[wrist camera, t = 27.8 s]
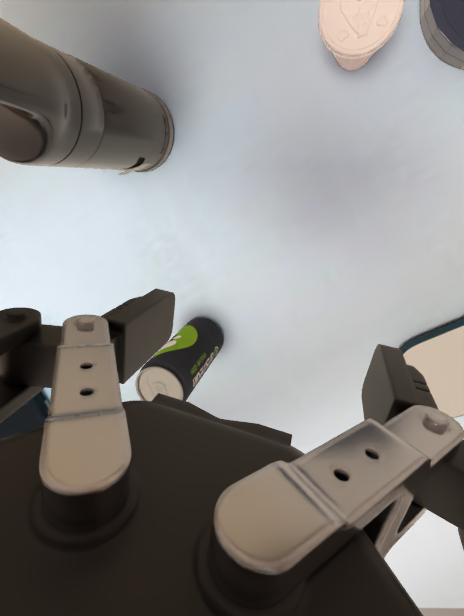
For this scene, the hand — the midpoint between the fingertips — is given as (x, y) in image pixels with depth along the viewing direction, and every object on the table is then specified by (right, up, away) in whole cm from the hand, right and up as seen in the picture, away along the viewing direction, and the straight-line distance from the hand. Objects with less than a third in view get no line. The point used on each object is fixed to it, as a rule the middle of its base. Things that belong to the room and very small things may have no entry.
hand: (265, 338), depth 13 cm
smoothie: (+11, +28, +22) cm, 37 cm away
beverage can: (-5, -3, +38) cm, 39 cm away
